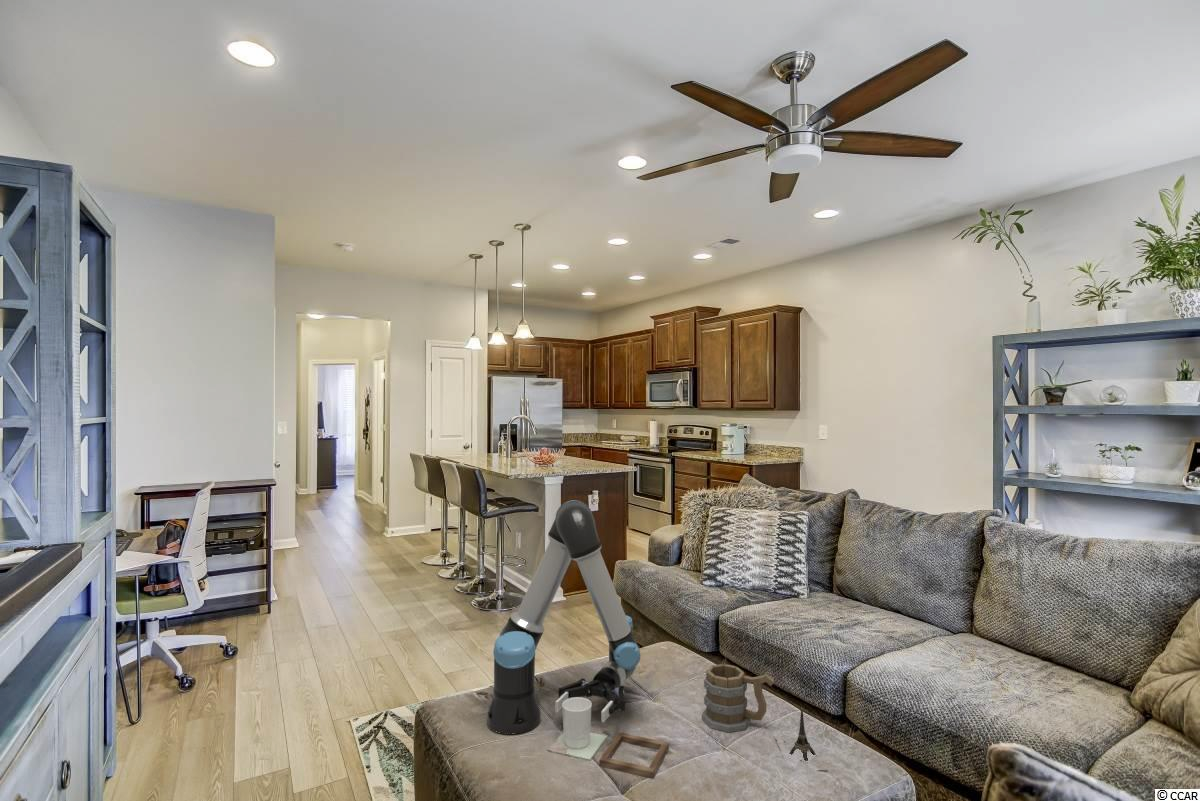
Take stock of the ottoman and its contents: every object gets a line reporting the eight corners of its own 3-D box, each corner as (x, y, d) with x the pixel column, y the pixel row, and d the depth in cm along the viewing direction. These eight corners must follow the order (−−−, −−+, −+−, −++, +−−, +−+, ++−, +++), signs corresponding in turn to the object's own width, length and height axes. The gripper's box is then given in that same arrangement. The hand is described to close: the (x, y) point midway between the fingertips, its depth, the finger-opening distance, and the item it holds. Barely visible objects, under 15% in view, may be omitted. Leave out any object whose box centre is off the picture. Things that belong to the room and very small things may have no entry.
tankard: (697, 725, 165) (697, 671, 166) (711, 706, 176) (710, 655, 177) (769, 743, 156) (768, 686, 156) (778, 721, 167) (778, 668, 167)
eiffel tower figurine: (773, 739, 158) (772, 689, 159) (811, 740, 158) (810, 690, 158) (788, 772, 143) (787, 717, 144) (830, 774, 143) (829, 718, 143)
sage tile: (547, 751, 152) (547, 749, 152) (567, 728, 163) (567, 727, 163) (589, 761, 147) (589, 759, 147) (607, 737, 159) (607, 735, 159)
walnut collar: (599, 765, 145) (599, 759, 145) (618, 737, 158) (618, 732, 158) (653, 778, 140) (653, 772, 140) (668, 748, 153) (668, 742, 153)
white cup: (578, 731, 161) (578, 694, 161) (597, 742, 155) (597, 704, 156) (556, 742, 156) (556, 703, 156) (575, 753, 150) (575, 714, 150)
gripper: (648, 700, 170) (622, 736, 150) (571, 685, 180) (538, 717, 160) (648, 673, 170) (622, 706, 151) (571, 660, 180) (538, 689, 160)
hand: (579, 711), depth 155 cm, fingers open, 13 cm apart
